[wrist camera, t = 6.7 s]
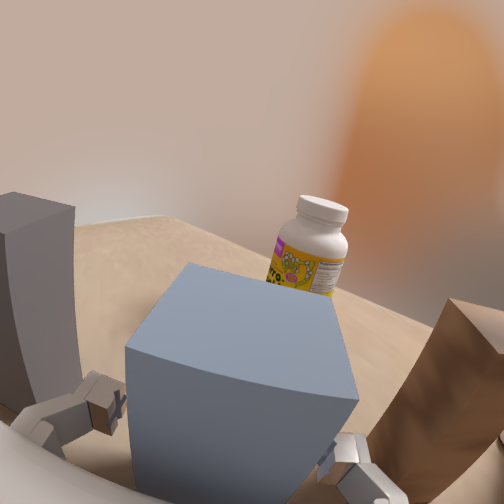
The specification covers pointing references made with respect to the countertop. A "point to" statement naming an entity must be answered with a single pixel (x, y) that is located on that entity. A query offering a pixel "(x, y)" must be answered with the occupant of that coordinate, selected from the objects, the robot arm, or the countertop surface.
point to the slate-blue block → (234, 389)
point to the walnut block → (445, 404)
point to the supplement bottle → (310, 247)
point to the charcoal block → (36, 301)
